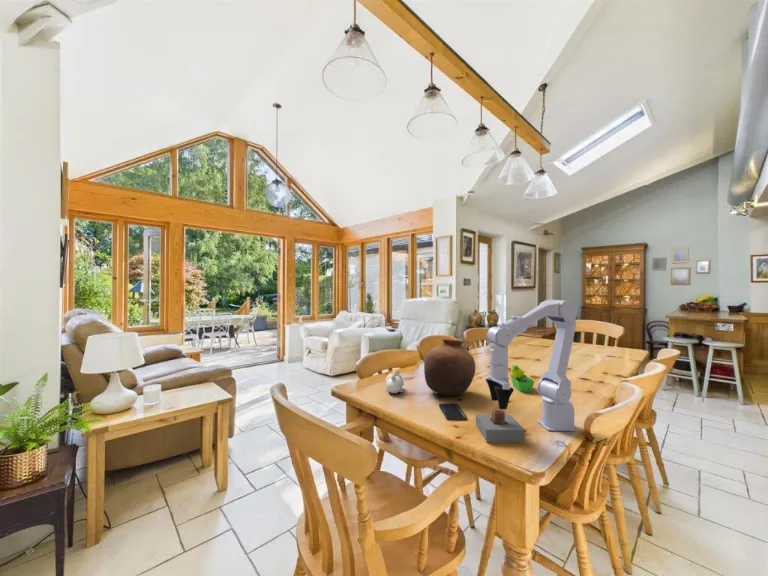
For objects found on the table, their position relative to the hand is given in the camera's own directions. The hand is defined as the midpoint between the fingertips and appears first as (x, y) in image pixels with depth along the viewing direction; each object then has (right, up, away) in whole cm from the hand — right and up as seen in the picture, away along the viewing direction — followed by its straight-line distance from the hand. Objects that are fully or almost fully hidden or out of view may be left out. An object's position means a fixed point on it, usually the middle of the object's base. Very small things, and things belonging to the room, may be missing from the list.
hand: (498, 404), depth 108 cm
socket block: (0, -10, 0) cm, 10 cm away
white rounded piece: (-33, -10, +45) cm, 56 cm away
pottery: (-8, -10, +40) cm, 42 cm away
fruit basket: (+27, -10, +47) cm, 55 cm away
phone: (-12, -10, +18) cm, 24 cm away
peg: (0, -9, 0) cm, 9 cm away
